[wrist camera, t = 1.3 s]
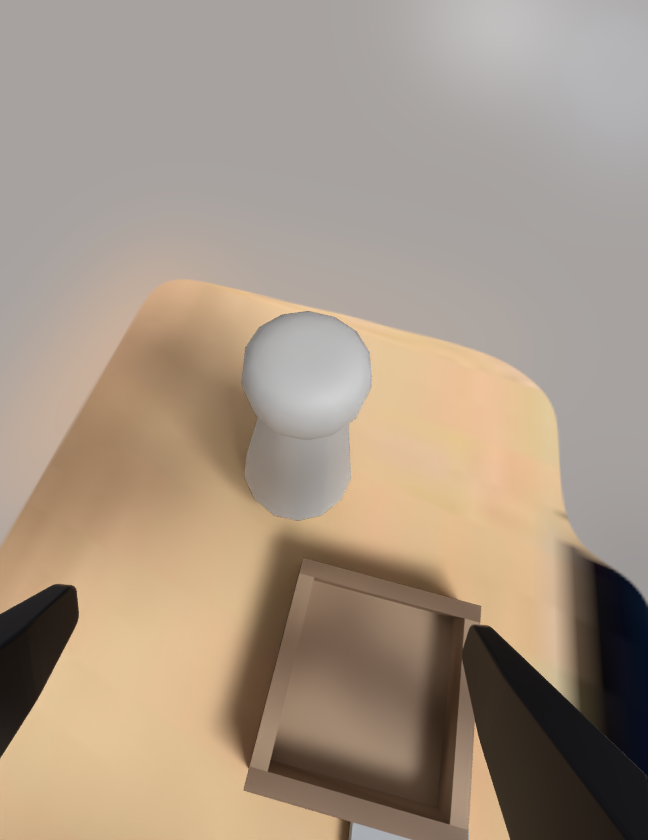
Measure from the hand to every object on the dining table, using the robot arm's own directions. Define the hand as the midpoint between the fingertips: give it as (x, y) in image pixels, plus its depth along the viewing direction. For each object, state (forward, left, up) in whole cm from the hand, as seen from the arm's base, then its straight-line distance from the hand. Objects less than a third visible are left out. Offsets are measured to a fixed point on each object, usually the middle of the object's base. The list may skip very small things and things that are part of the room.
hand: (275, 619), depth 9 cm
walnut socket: (-2, -5, -13) cm, 14 cm away
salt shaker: (+7, +1, -13) cm, 15 cm away
